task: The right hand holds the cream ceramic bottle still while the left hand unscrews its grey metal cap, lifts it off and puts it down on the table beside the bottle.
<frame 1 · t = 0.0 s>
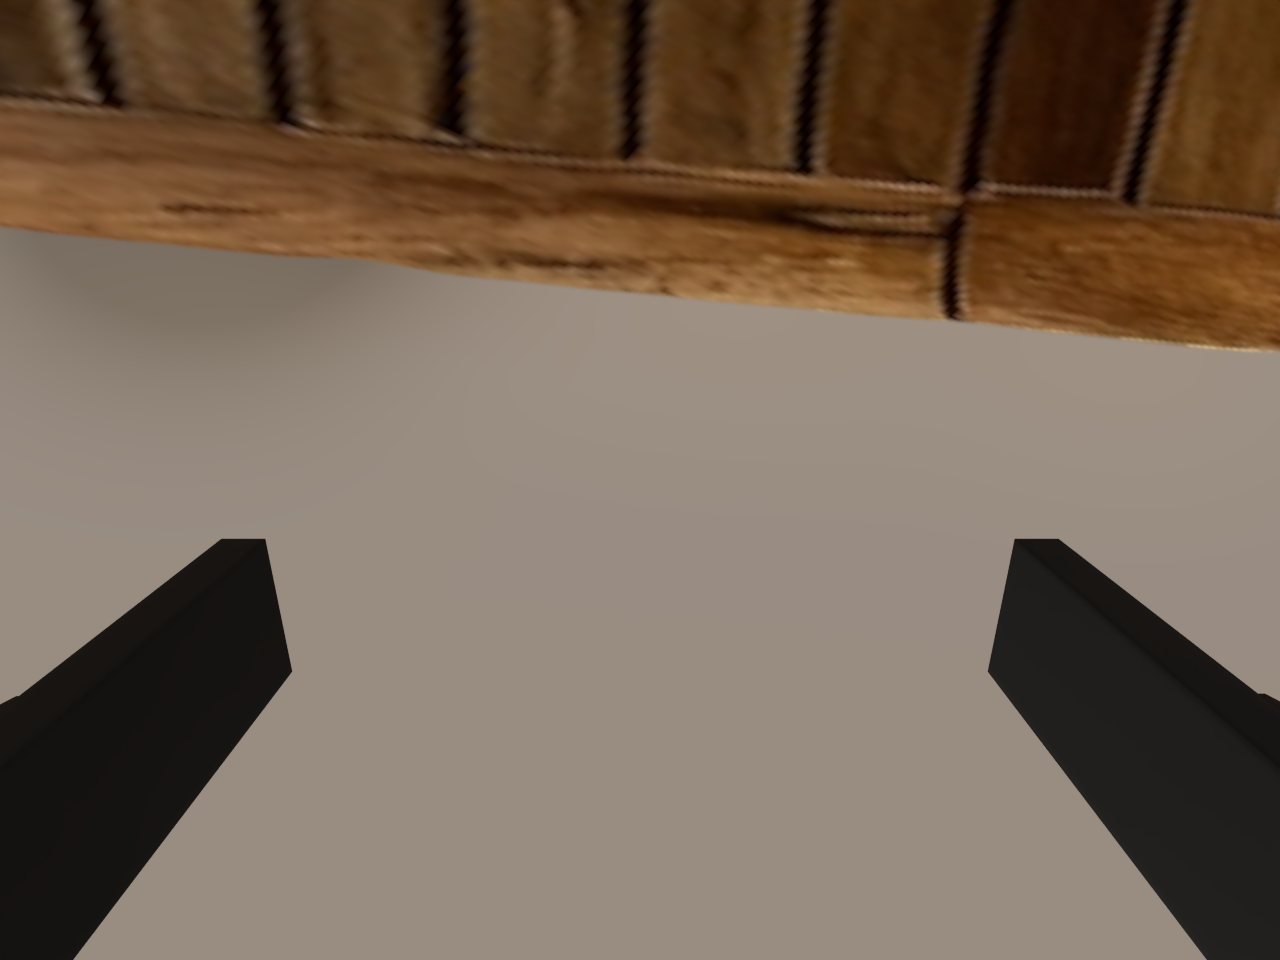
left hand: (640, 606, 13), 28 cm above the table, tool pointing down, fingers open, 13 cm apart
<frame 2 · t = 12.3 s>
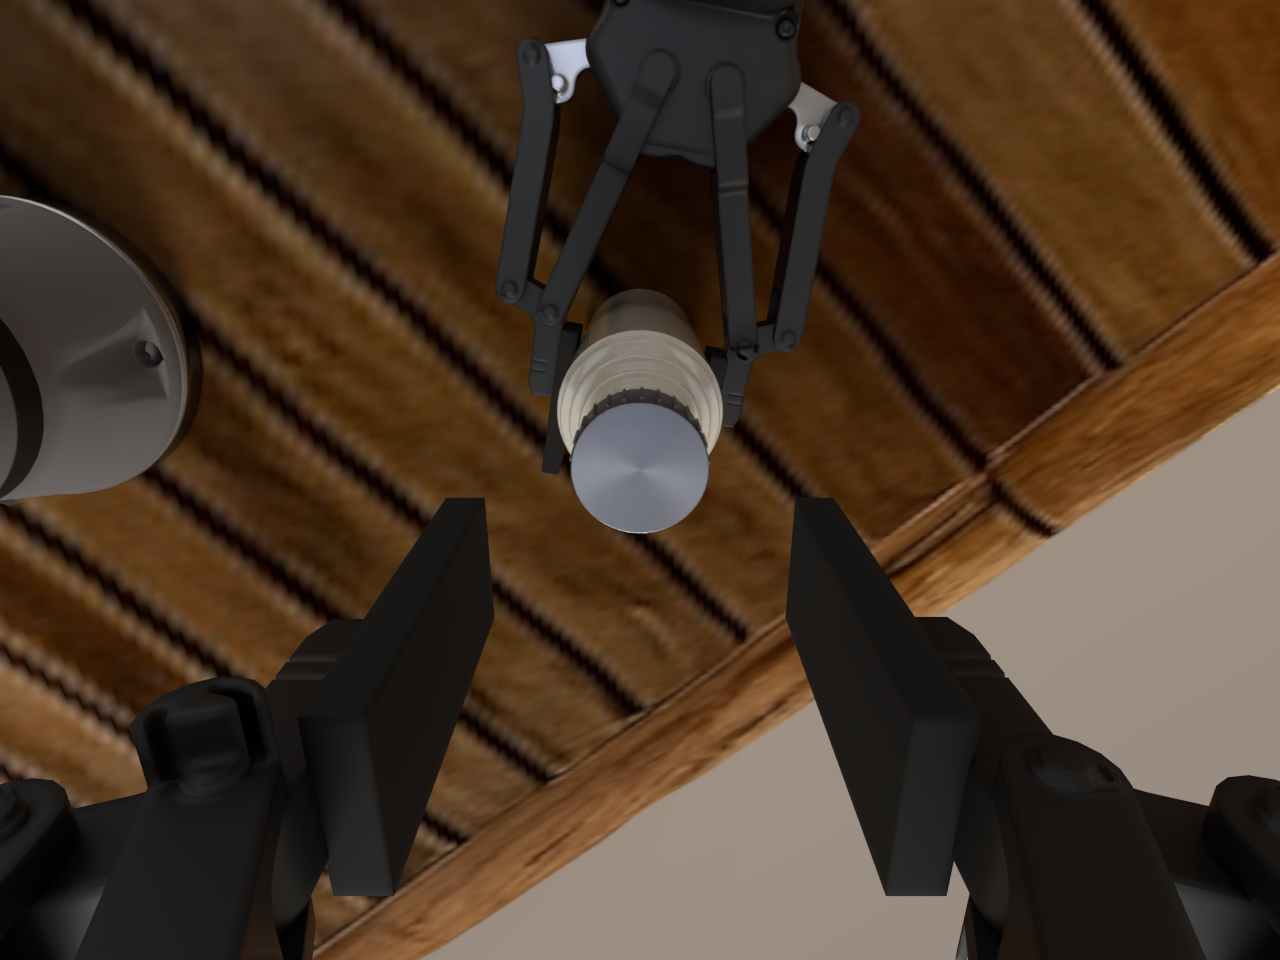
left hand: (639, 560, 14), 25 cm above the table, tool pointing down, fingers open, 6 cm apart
right hand: (621, 473, 34), fingers closed on bottle, 6 cm apart
cap: (639, 466, 20), point 20 cm above the table, screwed on, not yet turned
bottle: (639, 344, 38), on the table, touching right hand
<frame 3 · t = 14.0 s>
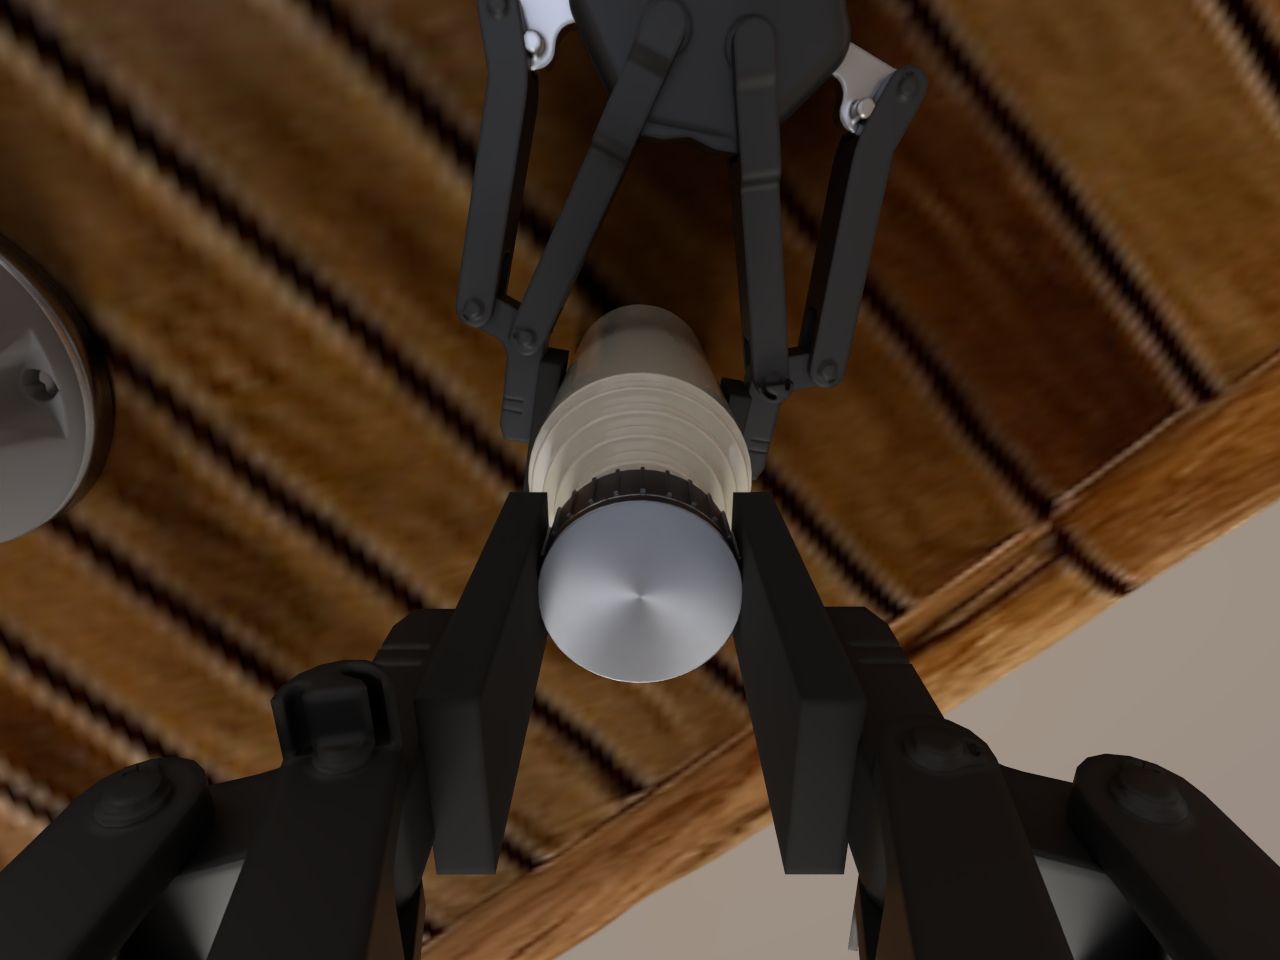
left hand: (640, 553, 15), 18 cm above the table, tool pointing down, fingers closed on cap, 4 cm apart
right hand: (617, 534, 28), fingers closed on bottle, 6 cm apart
cap: (640, 588, 13), point 20 cm above the table, screwed on, not yet turned, touching left hand
bottle: (639, 371, 32), on the table, touching right hand
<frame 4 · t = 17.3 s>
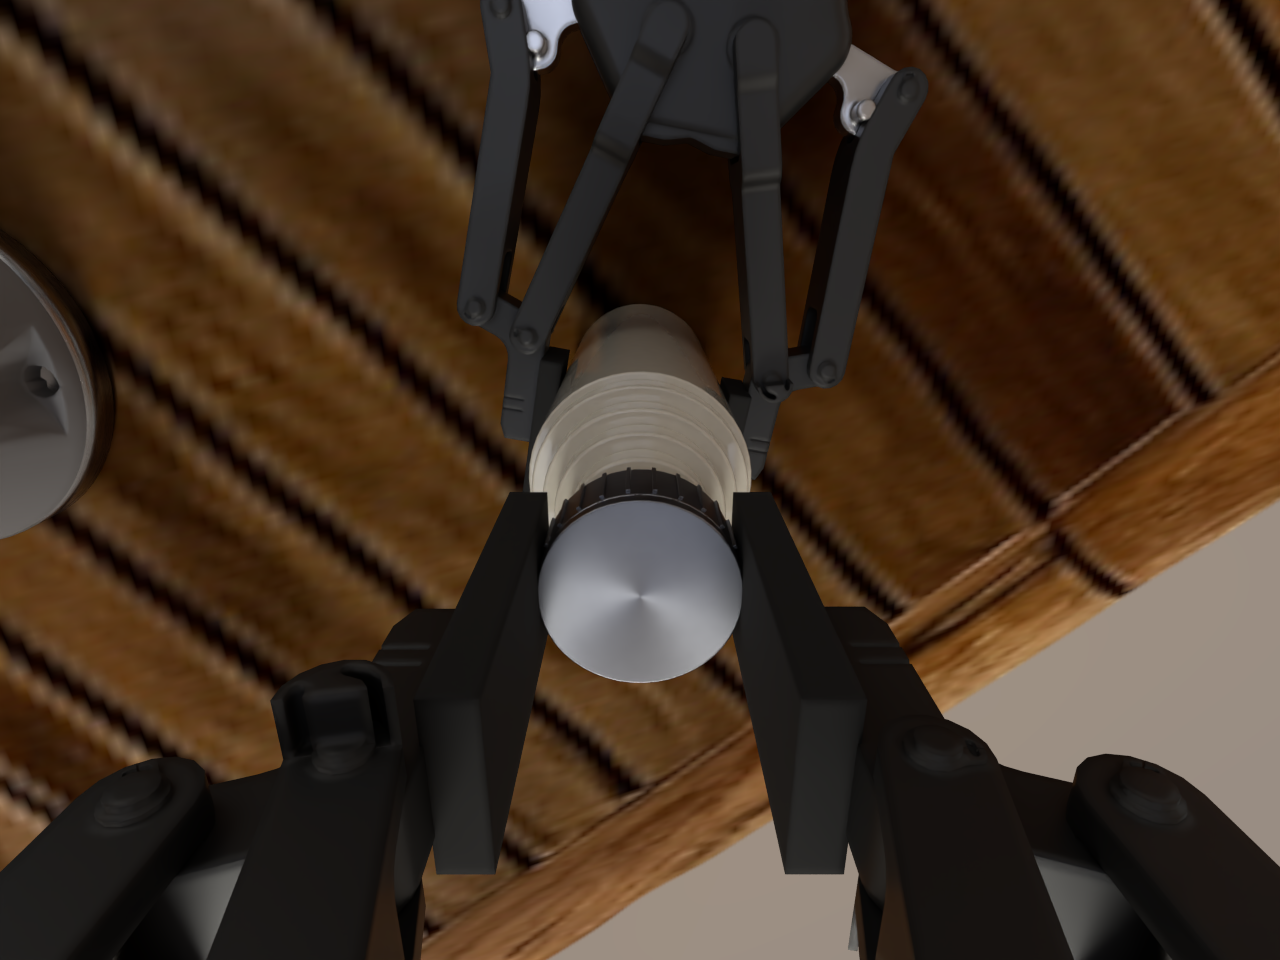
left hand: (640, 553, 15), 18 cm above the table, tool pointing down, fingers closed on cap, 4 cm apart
right hand: (616, 533, 28), fingers closed on bottle, 6 cm apart
cap: (640, 588, 13), point 20 cm above the table, turned 109° so far, risen 0.1 cm, still on its thread, touching left hand
bottle: (640, 370, 32), on the table, touching right hand
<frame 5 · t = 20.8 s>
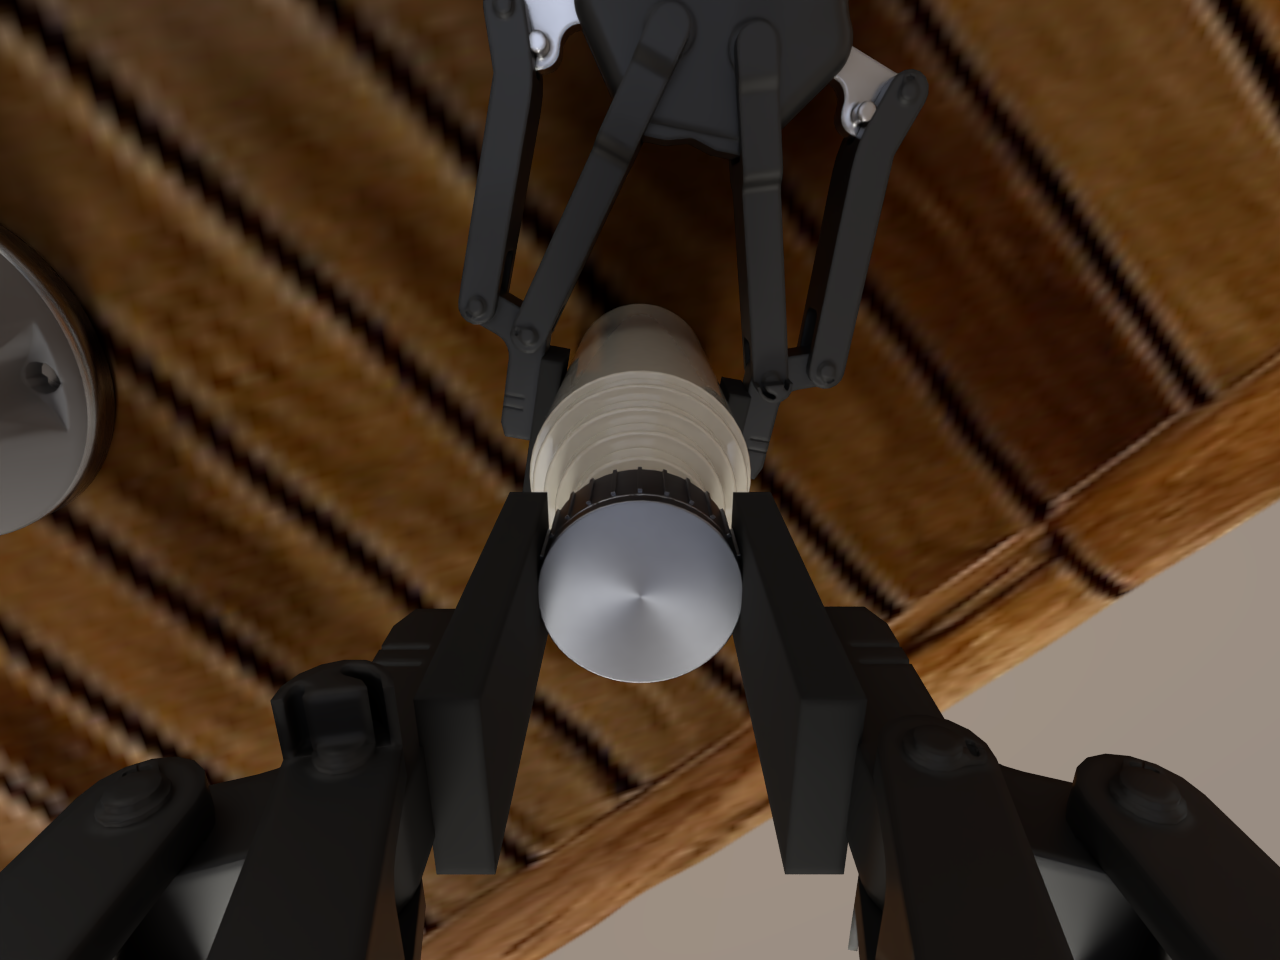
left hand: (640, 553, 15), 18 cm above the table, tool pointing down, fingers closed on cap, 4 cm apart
right hand: (616, 531, 28), fingers closed on bottle, 6 cm apart
cap: (640, 588, 13), point 20 cm above the table, turned 218° so far, risen 0.2 cm, still on its thread, touching left hand
bottle: (640, 370, 32), on the table, touching right hand
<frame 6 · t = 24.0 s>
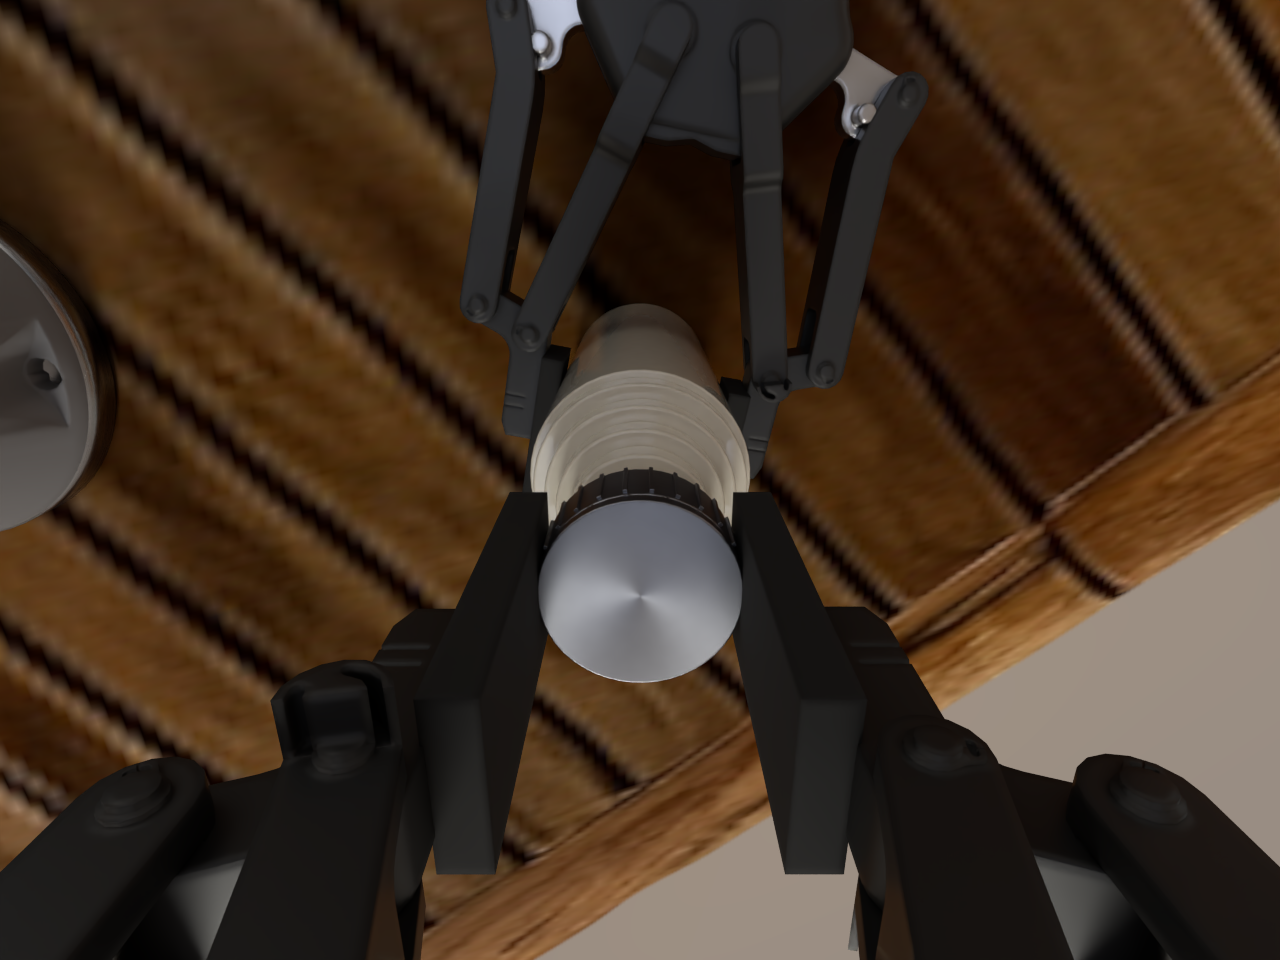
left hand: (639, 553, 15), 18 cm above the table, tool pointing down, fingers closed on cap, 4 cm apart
right hand: (615, 530, 28), fingers closed on bottle, 6 cm apart
cap: (640, 588, 13), point 20 cm above the table, turned 327° so far, risen 0.3 cm, still on its thread, touching left hand
bottle: (640, 369, 32), on the table, touching right hand
when the left hand's fingers open (1 cm above the table, at t = 30.6 s): cap stays where it is, point 1 cm above the table.
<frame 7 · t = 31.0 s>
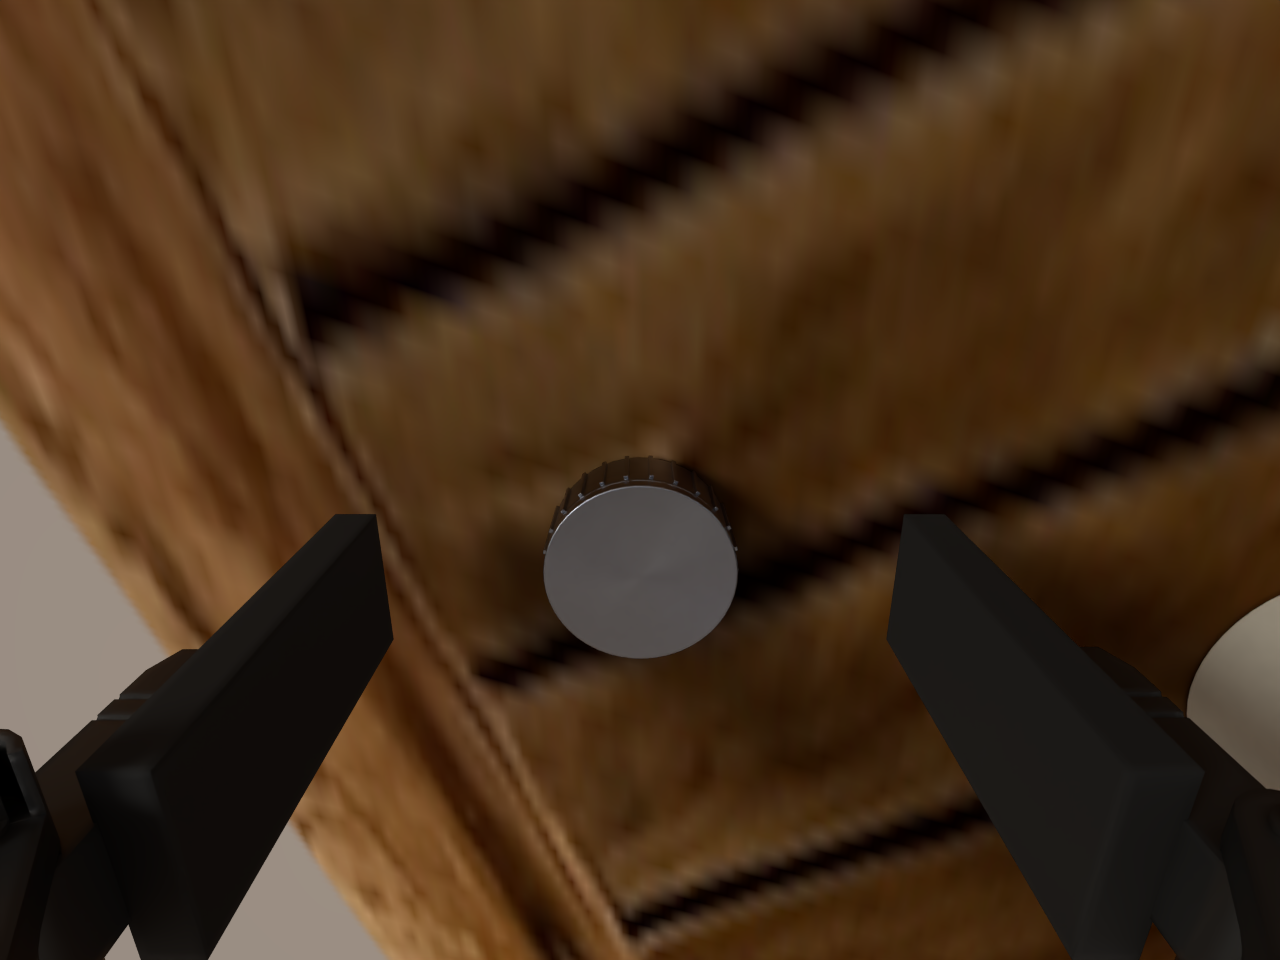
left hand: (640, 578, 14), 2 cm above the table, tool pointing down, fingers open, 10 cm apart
cap: (640, 569, 14), point 1 cm above the table, off its thread
when the right hand's fingers open (6 cm above the table, at t = 31.8 s): bottle stays where it is, on the table.
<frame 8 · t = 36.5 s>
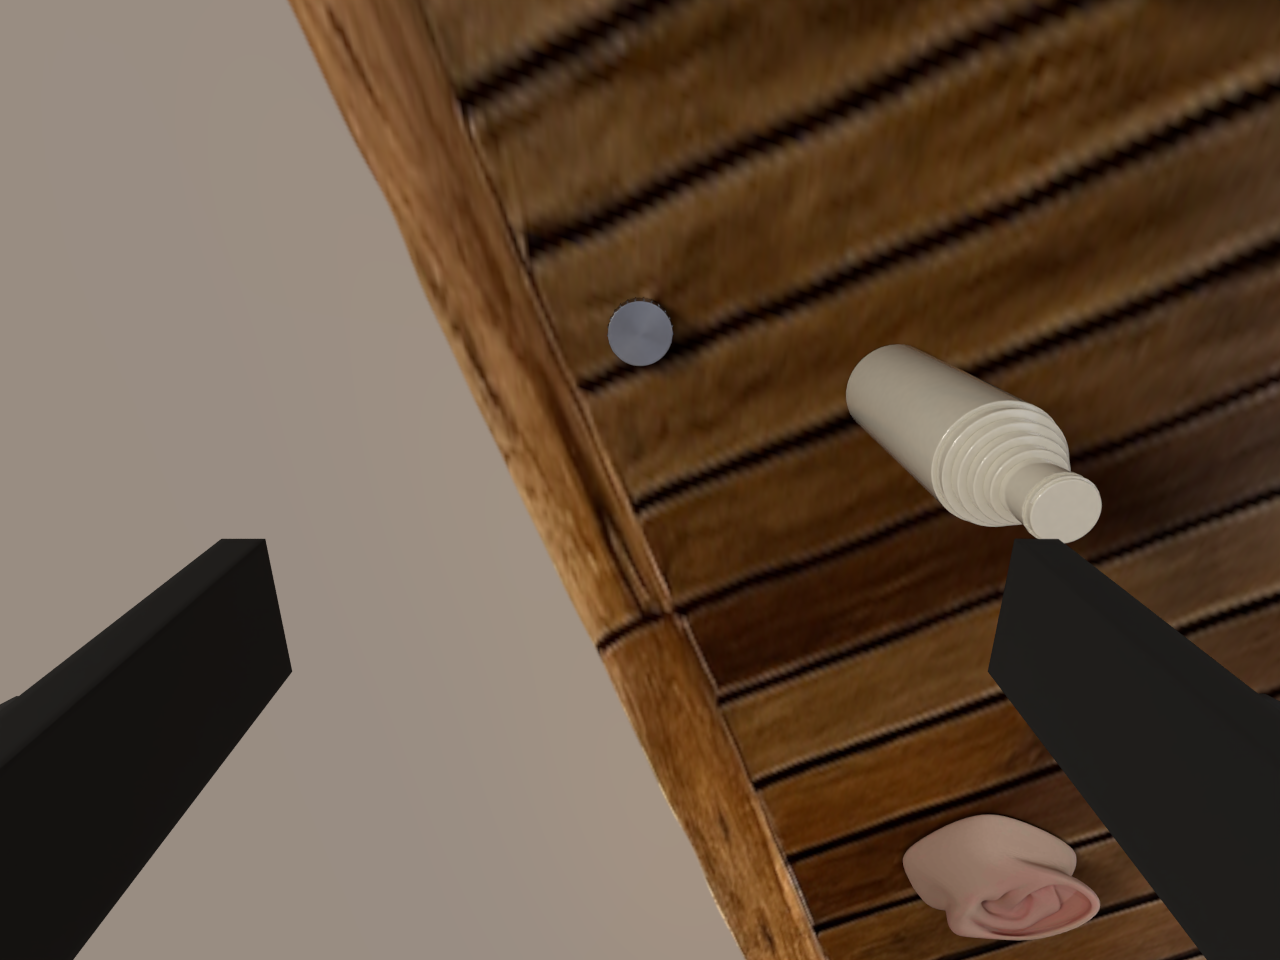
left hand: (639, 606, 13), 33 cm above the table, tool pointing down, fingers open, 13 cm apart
cap: (640, 333, 42), point 1 cm above the table, off its thread
anatomical model: (984, 864, 59), on the table
bottle: (892, 390, 45), on the table
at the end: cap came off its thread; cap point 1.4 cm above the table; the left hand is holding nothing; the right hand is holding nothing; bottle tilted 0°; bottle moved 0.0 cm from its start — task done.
